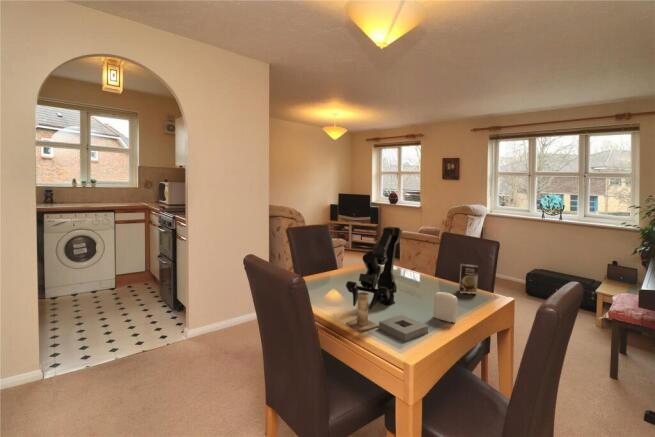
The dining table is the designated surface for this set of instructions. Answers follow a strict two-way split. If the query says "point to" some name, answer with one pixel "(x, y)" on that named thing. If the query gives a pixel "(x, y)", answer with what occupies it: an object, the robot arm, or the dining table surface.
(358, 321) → the dowel
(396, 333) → the holder
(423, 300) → the dining table surface
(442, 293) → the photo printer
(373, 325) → the mat
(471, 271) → the coffee box
